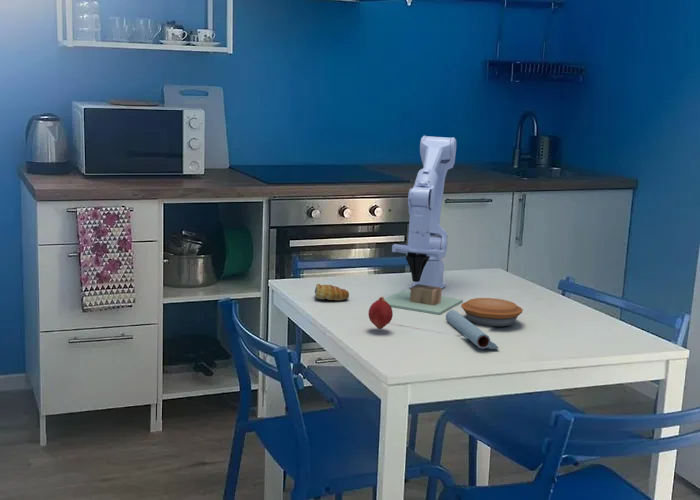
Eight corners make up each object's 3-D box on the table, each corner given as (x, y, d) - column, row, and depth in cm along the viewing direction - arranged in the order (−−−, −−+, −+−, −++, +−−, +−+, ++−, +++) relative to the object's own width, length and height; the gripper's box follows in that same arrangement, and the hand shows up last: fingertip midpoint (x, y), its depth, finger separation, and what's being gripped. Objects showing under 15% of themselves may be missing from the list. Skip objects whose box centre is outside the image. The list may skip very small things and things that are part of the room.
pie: (523, 317, 231) (524, 298, 231) (519, 331, 217) (521, 311, 216) (464, 310, 235) (465, 292, 234) (456, 324, 220) (458, 305, 219)
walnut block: (417, 284, 243) (441, 287, 240) (416, 298, 244) (440, 302, 240) (410, 287, 238) (435, 290, 235) (409, 301, 239) (434, 305, 236)
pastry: (347, 297, 243) (348, 283, 243) (350, 302, 236) (351, 288, 236) (313, 295, 242) (314, 281, 241) (315, 300, 235) (315, 286, 235)
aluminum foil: (444, 323, 222) (445, 309, 222) (470, 322, 224) (471, 309, 223) (475, 349, 201) (476, 334, 200) (503, 348, 202) (504, 334, 201)
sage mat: (402, 292, 253) (403, 290, 252) (462, 301, 245) (463, 299, 245) (376, 304, 237) (376, 302, 236) (439, 314, 229) (439, 312, 229)
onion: (364, 326, 214) (365, 293, 213) (385, 325, 216) (387, 293, 215) (373, 332, 209) (374, 299, 207) (395, 331, 211) (397, 298, 209)
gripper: (388, 230, 238) (385, 279, 240) (439, 236, 231) (435, 287, 234) (399, 227, 244) (396, 275, 246) (448, 233, 237) (445, 282, 240)
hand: (416, 281), depth 240 cm, fingers closed
